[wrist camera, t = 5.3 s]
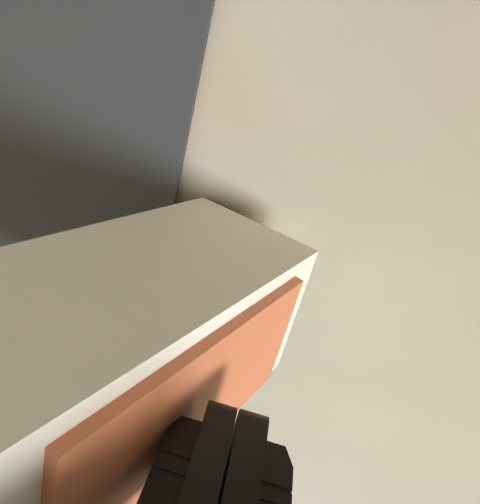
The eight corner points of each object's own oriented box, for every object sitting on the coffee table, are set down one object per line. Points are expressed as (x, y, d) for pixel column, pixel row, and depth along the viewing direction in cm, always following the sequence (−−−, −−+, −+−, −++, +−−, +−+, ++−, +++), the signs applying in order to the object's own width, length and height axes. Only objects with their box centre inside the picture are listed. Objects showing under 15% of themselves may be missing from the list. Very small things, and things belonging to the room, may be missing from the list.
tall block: (203, 197, 17) (-227, 302, 7) (326, 254, 15) (-49, 508, 5) (179, 304, 19) (-181, 497, 10) (284, 368, 17) (-39, 702, 7)
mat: (-133, -128, 15) (-142, -131, 14) (221, -33, 14) (219, -35, 14) (-91, 353, 23) (-96, 357, 23) (132, 423, 22) (130, 427, 22)
